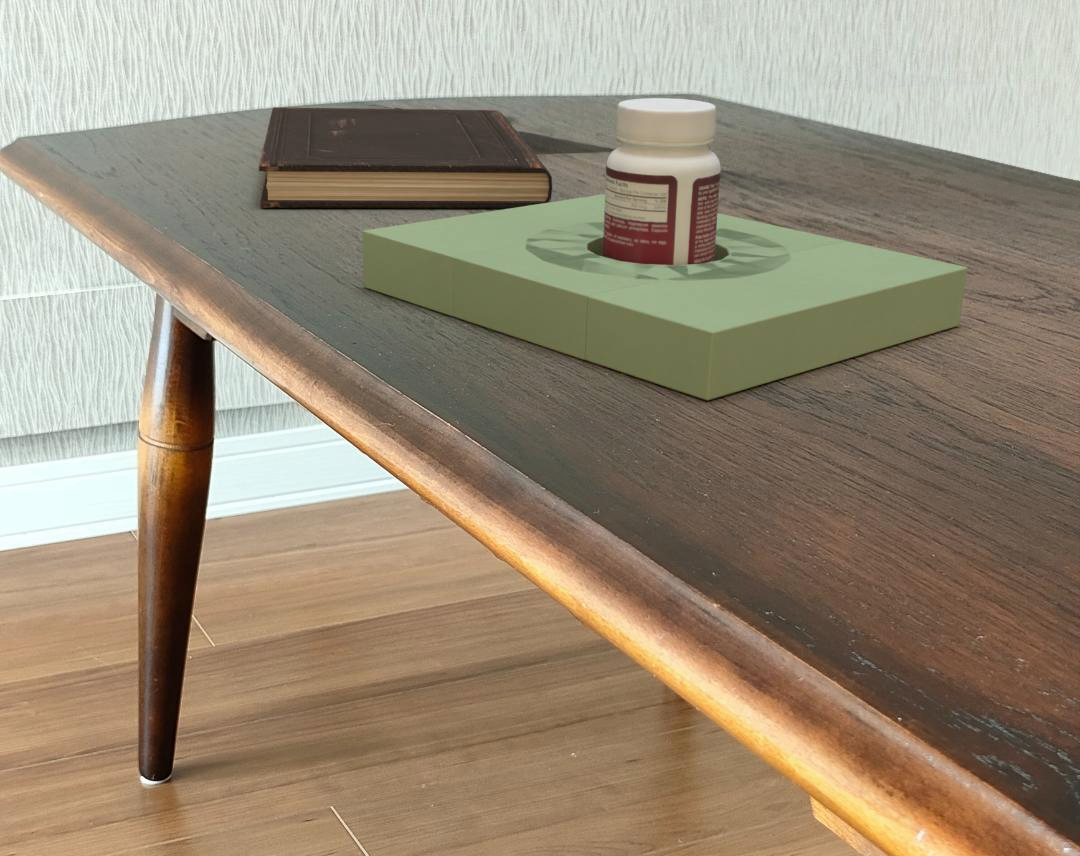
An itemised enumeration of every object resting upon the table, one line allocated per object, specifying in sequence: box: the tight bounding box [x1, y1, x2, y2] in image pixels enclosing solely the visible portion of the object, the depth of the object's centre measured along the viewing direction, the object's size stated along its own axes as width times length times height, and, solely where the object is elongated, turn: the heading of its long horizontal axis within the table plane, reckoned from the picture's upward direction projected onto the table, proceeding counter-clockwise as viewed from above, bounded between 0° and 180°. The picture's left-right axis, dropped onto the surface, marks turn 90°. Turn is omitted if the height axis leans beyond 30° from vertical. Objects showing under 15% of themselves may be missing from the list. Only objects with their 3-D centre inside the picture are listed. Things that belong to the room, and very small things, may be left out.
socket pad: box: [362, 193, 968, 401], centre depth 62 cm, size 20×16×2 cm
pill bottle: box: [603, 97, 722, 265], centre depth 60 cm, size 5×5×8 cm
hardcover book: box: [258, 106, 553, 209], centre depth 90 cm, size 16×23×2 cm
